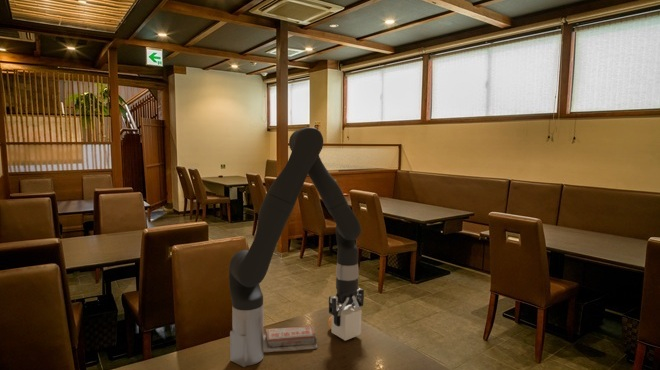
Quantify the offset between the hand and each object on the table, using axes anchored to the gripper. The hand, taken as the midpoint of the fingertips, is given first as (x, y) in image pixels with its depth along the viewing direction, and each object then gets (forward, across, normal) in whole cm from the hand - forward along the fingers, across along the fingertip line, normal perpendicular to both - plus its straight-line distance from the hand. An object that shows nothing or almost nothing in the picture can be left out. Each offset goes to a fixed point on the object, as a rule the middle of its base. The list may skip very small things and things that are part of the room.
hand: (346, 322), depth 134 cm
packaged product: (+6, +18, -8) cm, 21 cm away
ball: (+3, 0, -6) cm, 7 cm away
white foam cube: (+4, 0, 0) cm, 4 cm away
